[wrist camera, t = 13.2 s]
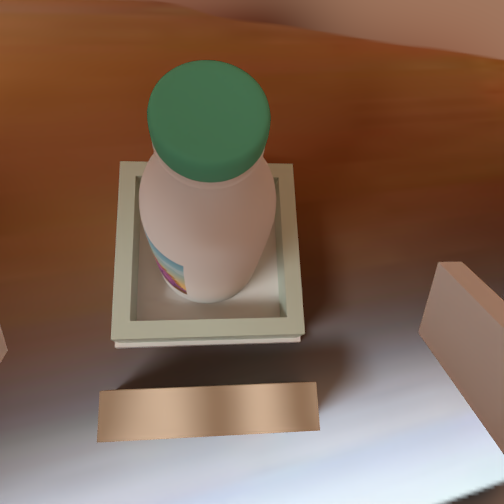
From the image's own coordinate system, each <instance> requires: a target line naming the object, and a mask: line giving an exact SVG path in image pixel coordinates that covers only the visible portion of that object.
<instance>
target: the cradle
mask: <svg viewBox="0 0 504 504" xmlns="http://www.w3.org/2000/svg"><path fill="white" fill-rule="evenodd" d="M147 163H148V162H132V161H120V173H119V192H118V212H117V231H116V250H115V269H114V288H113V308H112V327H111V340H113V341H115V348H145V347H177V346H209V345H241V344H272V343H298V342H301V340H300V336H301V335H303V334H305V327H304V314H303V300H302V286H301V272H300V258H299V244H298V230H297V217H296V203H295V189H294V175H293V164H275V163H267V164H268V166H269V168H270V171H271V173H272V176H273V179H274V184H275V190H276V211H275V218H274V222H273V225H272V228H271V232H270V235H269V238H268V240H267V243H266V245H265V248H264V250H263V252H262V255H261V257H260V259H259V262H258V264H257V266H256V269H255V271H254V273H253V275H252V277H251V279H250V280H249V282H248V283H247V285H246V286H245V287H244V288H243V289H242V290H241V291H240V292H239V293H238V294H236V295H235V296H233V297H231V298H229V299H227V300H225V301H222V302H218V303H210V304H204V303H197V302H193V301H190V300H187V299H185V298H183V297H182V296H180V295H178V294H177V293H176V292H175V291H173V290H172V289H171V287H170V286H169V285H168V284H167V282H166V281H165V279H164V278H163V276H162V274H161V272H160V269H159V267H158V265H157V262H156V260H155V257H154V255H153V253H152V250H151V247H150V245H149V242H148V239H147V237H146V234H145V231H144V228H143V224H142V220H141V216H140V210H139V188H140V183H141V178H142V175H143V172H144V170H145V167H146V165H147Z"/></svg>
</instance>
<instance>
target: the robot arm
mask: <svg viewBox="0 0 504 504" xmlns="http://www.w3.org/2000/svg"><path fill="white" fill-rule="evenodd" d="M418 333H419V334H420V336H421V337H422V339H423V340H424V341H425V343H426V344H427V346H428V347H429V349H430V350H431V351H432V353H433V354H434V356H435V357H436V359H437V360H438V361H439V363H440V364H441V366H442V367H443V368H444V370H445V371H446V373H447V374H448V376H449V377H450V378H451V380H452V381H453V383H454V384H455V386H456V387H457V388H458V390H459V391H460V393H461V394H462V396H463V397H464V398H465V400H466V401H467V403H468V404H469V405H470V407H471V408H472V410H473V411H474V413H475V414H476V415H477V417H478V418H479V420H480V421H481V423H482V424H483V425H484V427H485V428H486V430H487V431H488V432H489V434H490V435H491V437H492V438H493V440H494V441H495V442H496V444H497V445H498V447H499V448H500V450H501V451H502V452H503V454H504V300H503V299H501V298H500V297H499V296H498V295H497V294H496V293H495V292H494V291H493V290H492V289H491V288H490V287H488V286H487V285H486V284H485V283H484V282H483V281H482V280H481V279H480V278H479V277H478V276H477V275H476V274H474V273H473V272H472V271H471V270H470V269H469V268H468V267H467V266H466V265H465V264H464V263H463V262H438V265H437V269H436V272H435V276H434V279H433V283H432V286H431V290H430V293H429V297H428V300H427V304H426V307H425V311H424V315H423V318H422V322H421V325H420V329H419V332H418ZM6 352H7V346H6V343H5V339H4V336H3V333H2V329H1V326H0V363H1V361H2V359H3V358H4V356H5V354H6Z"/></svg>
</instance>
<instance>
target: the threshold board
mask: <svg viewBox="0 0 504 504" xmlns="http://www.w3.org/2000/svg"><path fill="white" fill-rule="evenodd" d="M317 430H320V425H319V412H318V399H317V386H316V382H287V383H263V384H239V385H215V386H191V387H167V388H143V389H119V390H106V391H100V398H99V416H98V433H97V442H114V441H132V440H151V439H169V438H188V437H206V436H225V435H243V434H262V433H280V432H299V431H317Z"/></svg>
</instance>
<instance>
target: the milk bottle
mask: <svg viewBox="0 0 504 504" xmlns="http://www.w3.org/2000/svg"><path fill="white" fill-rule="evenodd" d="M147 120H148V127H149V133H150V137H151V140H152V145H153V150H154V153H153V155H152V156H151V157H150V159H149V161H148V163H147V165H146V167H145V170H144V172H143V175H142V178H141V183H140V188H139V210H140V216H141V220H142V224H143V228H144V231H145V234H146V237H147V239H148V242H149V245H150V247H151V250H152V253H153V255H154V257H155V260H156V262H157V265H158V267H159V269H160V272H161V274H162V276H163V278H164V279H165V281H166V282H167V284H168V285H169V286H170V287H171V289H172V290H173V291H175V292H176V293H177V294H178V295H180V296H182V297H183V298H185V299H187V300H190V301H193V302H197V303H204V304H210V303H218V302H222V301H225V300H227V299H229V298H231V297H233V296H235V295H236V294H238V293H239V292H240V291H241V290H242V289H243V288H244V287H245V286H246V285H247V283H248V282H249V280H250V279H251V277H252V275H253V273H254V271H255V269H256V266H257V264H258V262H259V259H260V257H261V255H262V252H263V250H264V248H265V245H266V243H267V240H268V238H269V235H270V232H271V228H272V225H273V222H274V218H275V211H276V190H275V184H274V179H273V176H272V173H271V171H270V168H269V166H268V164H267V162H266V160H265V159H264V157H263V154H264V150H265V145H266V142H267V139H268V135H269V129H270V121H271V116H270V109H269V104H268V101H267V98H266V95H265V93H264V91H263V90H262V88H261V87H260V85H259V84H258V83H257V82H256V81H255V79H254V78H252V77H251V76H250V75H249V74H248V73H246V72H245V71H243V70H242V69H240V68H238V67H236V66H234V65H231V64H228V63H225V62H221V61H215V60H199V61H192V62H188V63H185V64H182V65H180V66H178V67H176V68H174V69H172V70H171V71H169V72H168V73H166V74H165V75H164V76H163V77H162V78H161V79H160V80H159V81H158V83H157V84H156V86H155V87H154V89H153V91H152V93H151V96H150V99H149V103H148V108H147Z"/></svg>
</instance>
